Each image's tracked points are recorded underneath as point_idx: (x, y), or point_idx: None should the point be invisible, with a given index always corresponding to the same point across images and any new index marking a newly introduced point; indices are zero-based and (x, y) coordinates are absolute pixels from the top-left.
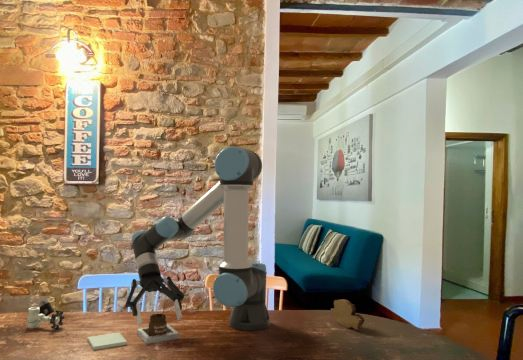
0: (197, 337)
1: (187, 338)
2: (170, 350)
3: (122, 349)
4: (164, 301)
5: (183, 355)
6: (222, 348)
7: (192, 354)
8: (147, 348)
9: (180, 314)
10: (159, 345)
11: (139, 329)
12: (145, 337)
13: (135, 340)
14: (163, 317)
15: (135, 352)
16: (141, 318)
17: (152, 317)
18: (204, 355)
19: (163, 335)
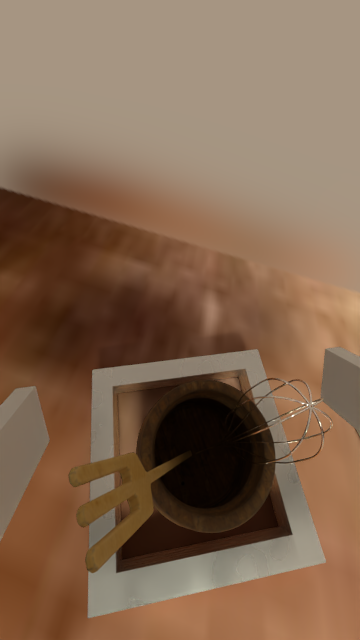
0: (10, 366)
1: (60, 368)
2: (169, 272)
3: (340, 334)
4: (121, 539)
5: (142, 229)
6: (2, 235)
7: (114, 227)
8: (246, 313)
9: (19, 395)
10: (199, 327)
11: (308, 535)
12: (263, 370)
13: (303, 427)
14: (170, 391)
15: (287, 293)
16: (343, 357)
17: (257, 407)
18: (85, 212)
19: (176, 362)
